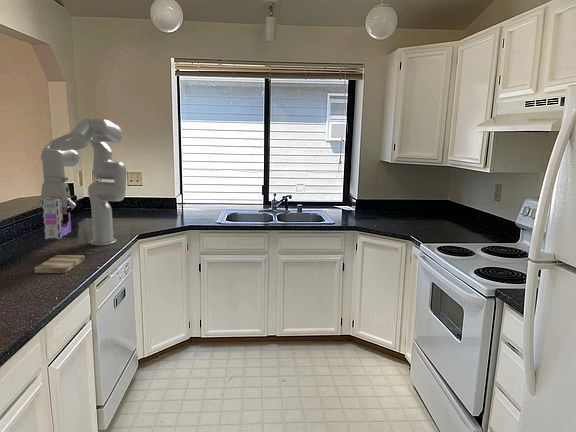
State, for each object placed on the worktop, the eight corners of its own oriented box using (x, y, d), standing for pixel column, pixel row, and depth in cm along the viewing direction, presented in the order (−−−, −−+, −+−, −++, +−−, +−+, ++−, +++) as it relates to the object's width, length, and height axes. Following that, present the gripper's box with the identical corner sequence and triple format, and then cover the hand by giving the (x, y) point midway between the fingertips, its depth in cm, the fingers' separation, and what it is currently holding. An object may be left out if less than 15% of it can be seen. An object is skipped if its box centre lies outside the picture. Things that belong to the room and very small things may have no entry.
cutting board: (57, 259, 183) (56, 255, 183) (84, 259, 184) (84, 255, 183) (34, 272, 165) (34, 267, 165) (65, 272, 166) (65, 268, 166)
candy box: (59, 239, 166) (57, 199, 163) (44, 239, 165) (40, 199, 162) (72, 231, 179) (69, 194, 176) (57, 231, 178) (54, 194, 175)
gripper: (80, 179, 172) (82, 221, 175) (37, 178, 171) (41, 220, 174) (71, 181, 164) (74, 225, 168) (27, 180, 163) (31, 224, 167)
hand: (57, 222), depth 171 cm, fingers closed on candy box, 6 cm apart
